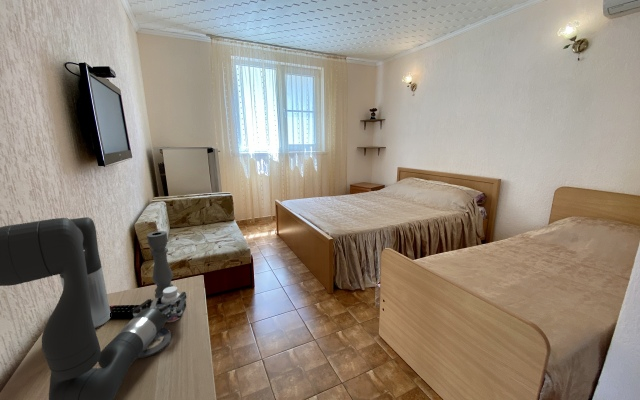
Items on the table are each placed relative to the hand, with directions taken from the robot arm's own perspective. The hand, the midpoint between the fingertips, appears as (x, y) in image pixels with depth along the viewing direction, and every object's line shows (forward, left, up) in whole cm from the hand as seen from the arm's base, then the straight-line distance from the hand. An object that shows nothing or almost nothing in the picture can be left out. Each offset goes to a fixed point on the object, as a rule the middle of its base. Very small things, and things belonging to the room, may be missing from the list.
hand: (175, 294), depth 84 cm
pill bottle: (+1, -2, -7) cm, 7 cm away
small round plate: (+5, -13, -7) cm, 16 cm away
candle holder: (-9, +4, -7) cm, 12 cm away
